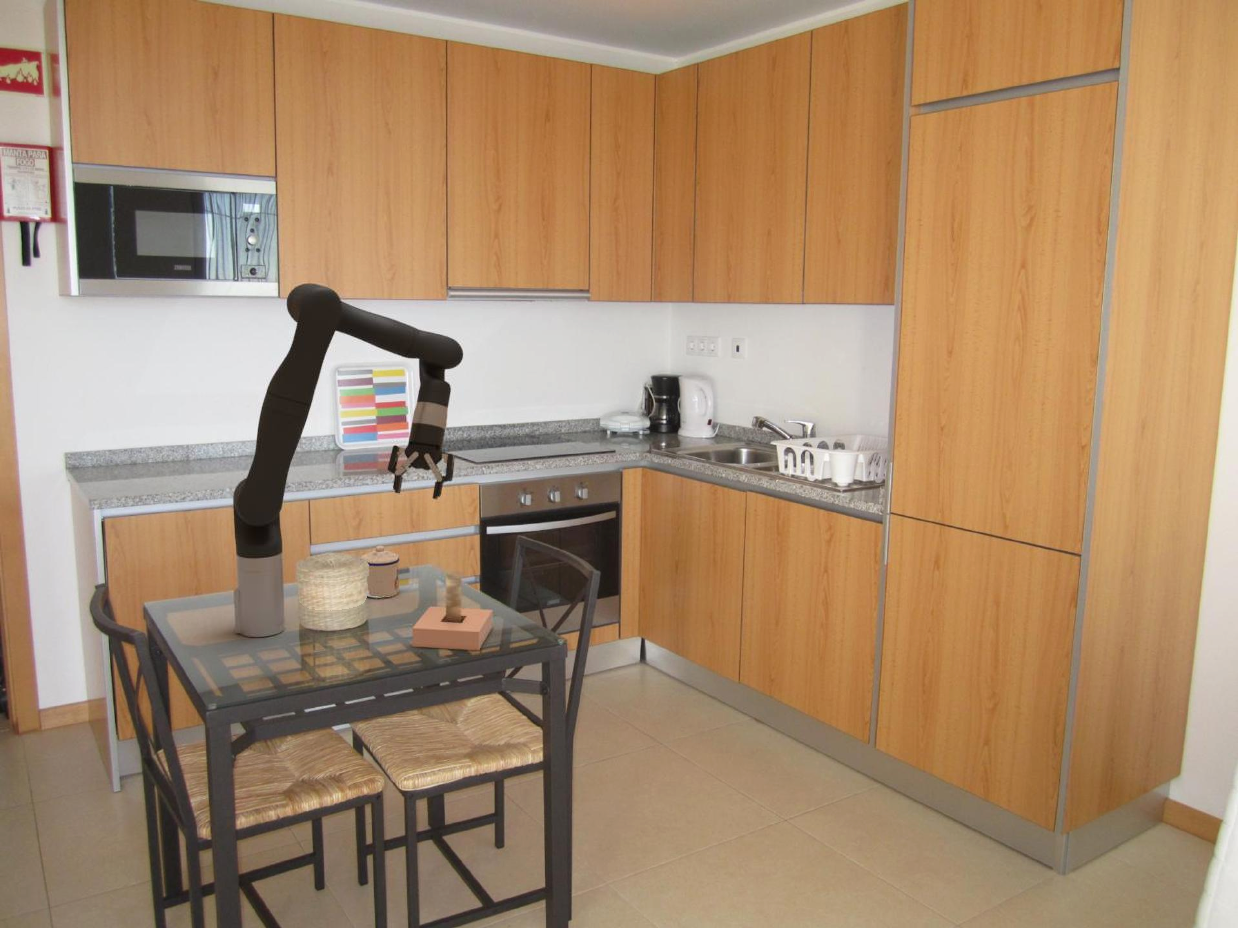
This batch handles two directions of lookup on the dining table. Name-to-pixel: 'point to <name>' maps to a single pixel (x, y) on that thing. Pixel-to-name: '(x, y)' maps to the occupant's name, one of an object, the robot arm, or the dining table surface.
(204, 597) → the dining table surface
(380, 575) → the tan lidded jar
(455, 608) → the peg
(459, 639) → the socket block
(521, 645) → the dining table surface
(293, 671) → the dining table surface
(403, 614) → the dining table surface
